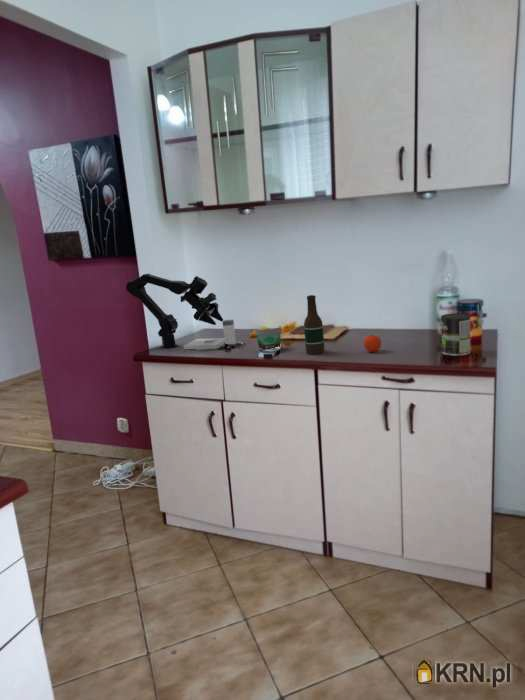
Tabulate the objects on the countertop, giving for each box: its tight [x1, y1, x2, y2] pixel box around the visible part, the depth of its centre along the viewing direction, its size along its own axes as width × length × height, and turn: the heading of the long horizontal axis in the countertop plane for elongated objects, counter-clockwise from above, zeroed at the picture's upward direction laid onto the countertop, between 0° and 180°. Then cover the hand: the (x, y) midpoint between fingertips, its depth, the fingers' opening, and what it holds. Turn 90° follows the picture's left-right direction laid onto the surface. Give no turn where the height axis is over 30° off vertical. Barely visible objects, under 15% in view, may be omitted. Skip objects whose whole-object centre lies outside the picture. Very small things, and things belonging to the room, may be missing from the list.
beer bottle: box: [303, 294, 325, 356], centre depth 216 cm, size 8×8×24 cm
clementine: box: [363, 334, 382, 353], centre depth 211 cm, size 8×7×7 cm
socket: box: [183, 337, 225, 350], centre depth 254 cm, size 17×15×2 cm
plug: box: [222, 319, 237, 345], centre depth 249 cm, size 4×4×12 cm
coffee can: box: [440, 313, 471, 357], centre depth 196 cm, size 10×10×14 cm
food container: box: [254, 326, 283, 352], centre depth 229 cm, size 12×6×10 cm, turn 105°
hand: (219, 322), depth 250 cm, fingers open, 9 cm apart
